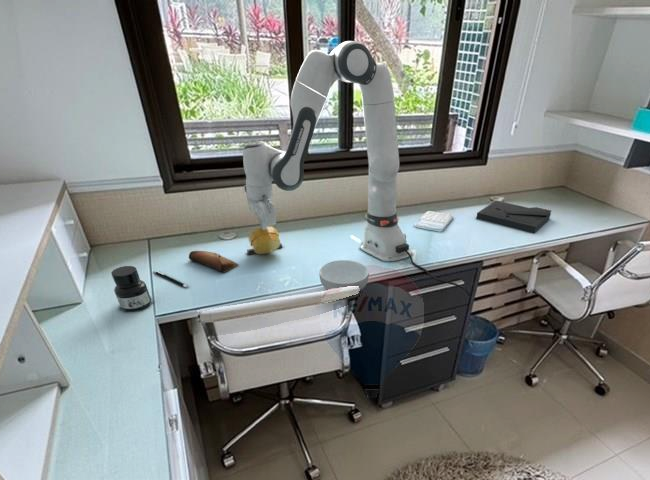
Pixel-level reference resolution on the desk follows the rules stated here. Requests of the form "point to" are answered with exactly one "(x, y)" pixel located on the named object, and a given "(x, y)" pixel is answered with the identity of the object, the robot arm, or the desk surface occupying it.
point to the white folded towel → (434, 221)
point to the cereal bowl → (344, 274)
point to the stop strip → (251, 251)
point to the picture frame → (514, 216)
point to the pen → (170, 278)
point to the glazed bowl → (264, 240)
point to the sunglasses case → (212, 260)
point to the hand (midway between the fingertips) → (263, 229)
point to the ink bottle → (130, 289)
